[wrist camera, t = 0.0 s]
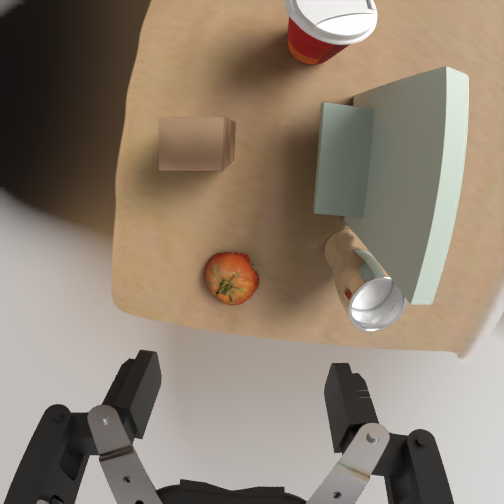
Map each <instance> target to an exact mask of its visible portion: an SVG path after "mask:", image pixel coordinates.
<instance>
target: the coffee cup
mask: <svg viewBox="0 0 504 504" xmlns="http://www.w3.org/2000/svg"><path fill="white" fill-rule="evenodd" d="M285 7H286V10H287V13H288V15H289V25H288V47H289V50H290V52H291V54H292V55H293V56H294V57H295V58H296V59H297V60H299V61H301V62H303V63H306V64H312V65H314V64H320V63H323V62H325V61H327V60H328V59H330V58H331V57H333V56H334V55H336V54H337V53H339V52H340V51H342V50H343V49H344V48H346V47H347V46H349V45H350V44H354V43H357V42H360V41H362V40H364V39H365V38H367V37H368V36H369V35H370V34H371V33H372V32H373V30H374V28H375V26H376V22H377V11H376V7H375V4H374V1H373V0H285Z"/></svg>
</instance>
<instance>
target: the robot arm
mask: <svg viewBox="0 0 504 504" xmlns="http://www.w3.org/2000/svg"><path fill="white" fill-rule="evenodd" d="M160 385H161V371H160V366H159V361H158V355H157V353H156V352H154V351H147V350H140V351H139V353H138V355H137V357H136V359H130V358H129V359H128V360H127V361H126V362H125V363H124V364H122V366H121V367H120V369H119V371H118V375H116V377H115V380H114V381H113V383H112V385H111V387H110V389H109V391H108V393H107V395H106V397H105V399H104V401H103V403H102V405H98V406H96V407H94V408H92V409H91V410H90V412H88V413H71V412H70V411H69V409H68V408H67V407H66V406H64V405H61V404H56V405H52V406H50V407H49V408H48V409H46V411H45V412H44V414H43V416H42V418H41V420H40V422H39V424H38V426H37V428H36V430H35V432H34V434H33V436H32V438H31V440H30V442H29V445H28V447H27V449H26V451H25V453H24V455H23V458H22V460H21V462H20V464H19V467H18V469H17V471H16V474H15V476H14V478H13V481H12V483H11V486H10V488H9V491H8V494H7V496H6V499H5V501H4V504H74V503H75V500H76V496H77V493H78V490H79V487H80V484H81V480H82V477H83V474H84V471H85V468H86V465H87V462H88V459H89V456H90V455H99V456H100V457H99V461H100V464H101V467H102V469H103V472H104V474H105V477H106V479H107V481H108V484H109V486H110V488H111V491H112V493H113V495H114V497H115V499H116V501H117V504H355V502H356V501H357V499H358V497H359V496H360V494H361V493H362V491H363V489H364V488H365V486H366V485H367V483H368V481H369V479H370V475H371V474H372V475H379V476H384V479H385V484H386V490H387V497H388V503H389V504H454V502H453V498H452V494H451V490H450V487H449V483H448V479H447V476H446V473H445V469H444V466H443V463H442V459H441V456H440V453H439V450H438V447H437V444H436V441H435V438H434V436H433V435H432V434H431V433H430V432H428V431H426V430H422V429H417V430H414V431H412V432H411V433H410V434H409V435H408V436H406V435H398V434H392V433H389V432H388V430H387V429H386V428H385V427H384V426H382V425H380V424H379V422H378V419H377V416H376V412H375V409H374V406H373V403H372V400H371V398H370V394H369V392H368V388H367V385H366V382H365V380H364V379H363V378H362V377H361V376H360V375H359V373H355V374H352V372H351V369H350V366H349V364H348V363H332V365H331V367H330V370H329V374H328V377H327V381H326V384H325V389H324V395H325V402H326V407H327V413H328V418H329V424H330V430H331V436H332V441H333V448H334V452H335V453H340V452H342V457H341V459H340V460H339V462H338V463H337V464H336V465H335V466H334V468H333V469H332V470H331V472H330V473H329V475H328V476H327V477H326V479H325V480H324V481H323V482H322V484H321V485H320V486H319V488H318V489H317V490H316V492H315V493H314V494H313V495H312V496H311V498H310V499H309V500H308V501H305V500H304V499H302V498H300V497H298V496H295V495H293V494H290V493H285V492H284V487H254V488H248V489H241V490H235V491H231V490H227V489H223V488H220V487H217V486H214V485H211V484H208V483H205V482H197V481H190V480H183V479H181V480H180V485H171V486H167V487H163V488H161V489H158V490H156V489H155V487H154V485H153V484H152V482H151V480H150V478H149V477H148V475H147V473H146V471H145V469H144V467H143V465H142V463H141V462H140V459H139V457H138V455H137V453H136V451H135V449H134V447H133V445H132V444H133V441H134V438H139V439H142V438H143V435H144V432H145V429H146V426H147V423H148V420H149V417H150V415H151V412H152V409H153V406H154V403H155V400H156V397H157V394H158V392H159V388H160Z"/></svg>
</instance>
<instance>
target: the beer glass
mask: <svg viewBox="0 0 504 504" xmlns="http://www.w3.org/2000/svg"><path fill="white" fill-rule="evenodd" d="M324 256H325V259H326V261H327V263H328V264H329V265H330V266H331V267H332V268H333V270H334V281H335V287H336V291H337V294H338V297H339V300H340V302H341V304H342V306H343V308H344V310H345V311H346V313H347V315H348V317H349V319H350V321H351V323H352V324H353V325H354V326H355V327H356V328H358V329H359V330H362V331H366V332H376V331H380V330H383V329H385V328H387V327H389V326H391V325H392V324H394V323H395V322H396V321H397V320H398V319H399V318H400V316H401V315H402V314H403V312H404V310H405V308H406V305H407V299H406V297H405V296H404V295H403V293H402V292H401V291H400V289H399V288H398V287H397V285H396V284H395V283H394V281H393V280H392V279H391V278H390V276H389V275H388V274H387V272H386V271H385V270H384V269H383V267H382V266H381V265H380V264H379V262H378V261H377V260H376V259H375V257H374V256H373V255H372V254H371V253H370V251H369V250H368V249H367V248H366V247H365V245H364V244H363V243H362V242H361V240H360V239H359V238H358V237H357V236H356V235H355V233H354V232H353V231H350V230H342V231H338V232H336V233H334V234H333V235H332V236H331V237H330V238H329V239H328V240H327V242H326V244H325V248H324Z"/></svg>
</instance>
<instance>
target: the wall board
mask: <svg viewBox="0 0 504 504" xmlns="http://www.w3.org/2000/svg"><path fill="white" fill-rule="evenodd" d="M468 106H469V79H468V75H466V74H464V73H461V72H459V71H457V70H454V69H452V68H449V67H447V66H446V67H442V68H438V69H434V70H431V71H427V72H424V73H420V74H417V75H414V76H410V77H407V78H404V79H401V80H398V81H395V82H392V83H388V84H386V85H383V86H380V87H377V88H374V89H371V90H368V91H365V92H363V93H360V94H357V95H354V96H353V106H348V105H342V104H335V103H327V102H323V103H321V114H320V130H319V145H318V158H317V170H316V181H315V192H314V202H313V212H314V213H315V214H324V215H337V216H343V217H342V219H343V221H344V222H345V223H346V224H347V225H348V226H349V228H350V229H351V230H352V231H353V232H354V233H355V235H356V236H357V237H358V238H359V239H360V240H361V242H362V243H363V244H364V245H365V246H366V248H367V249H368V250H369V251H370V253H371V254H372V255H373V256H374V257H375V259H376V260H377V261H378V262H379V264H380V265H381V266H382V267H383V269H384V270H385V271H386V272H387V274H388V275H389V276H390V278H391V279H392V280H393V281H394V283H395V284H396V285H397V287H398V288H399V289H400V291H401V292H402V293H403V295H404V296H405V297H406V299H407V300H408V301H409V303H410V304H432V302H433V299H434V296H435V293H436V290H437V287H438V284H439V280H440V277H441V274H442V270H443V267H444V263H445V260H446V256H447V252H448V248H449V244H450V240H451V236H452V232H453V227H454V223H455V218H456V213H457V208H458V202H459V197H460V191H461V184H462V178H463V170H464V162H465V153H466V142H467V129H468Z"/></svg>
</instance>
